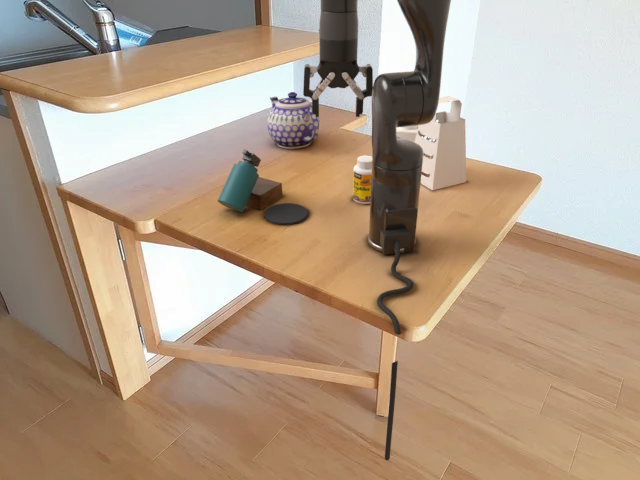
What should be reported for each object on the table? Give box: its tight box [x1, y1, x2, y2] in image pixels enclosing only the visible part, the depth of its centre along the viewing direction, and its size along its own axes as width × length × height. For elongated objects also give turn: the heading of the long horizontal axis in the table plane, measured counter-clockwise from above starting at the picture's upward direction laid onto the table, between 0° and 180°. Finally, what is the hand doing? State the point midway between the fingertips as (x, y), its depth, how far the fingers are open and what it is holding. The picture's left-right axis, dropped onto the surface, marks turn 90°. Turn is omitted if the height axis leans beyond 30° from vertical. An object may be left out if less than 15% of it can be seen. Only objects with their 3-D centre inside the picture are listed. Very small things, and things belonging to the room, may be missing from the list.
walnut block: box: [246, 176, 283, 210], centre depth 122 cm, size 8×8×4 cm
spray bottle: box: [217, 149, 262, 213], centre depth 116 cm, size 12×6×13 cm, turn 147°
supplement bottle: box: [352, 155, 372, 205], centre depth 120 cm, size 6×6×10 cm
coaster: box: [263, 202, 309, 226], centre depth 116 cm, size 10×10×1 cm
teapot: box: [266, 91, 320, 150], centre depth 153 cm, size 25×15×15 cm, turn 31°
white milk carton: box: [396, 125, 419, 142], centre depth 147 cm, size 7×7×12 cm
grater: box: [415, 95, 467, 191], centre depth 128 cm, size 10×10×20 cm
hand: (337, 115), depth 111 cm, fingers open, 8 cm apart
